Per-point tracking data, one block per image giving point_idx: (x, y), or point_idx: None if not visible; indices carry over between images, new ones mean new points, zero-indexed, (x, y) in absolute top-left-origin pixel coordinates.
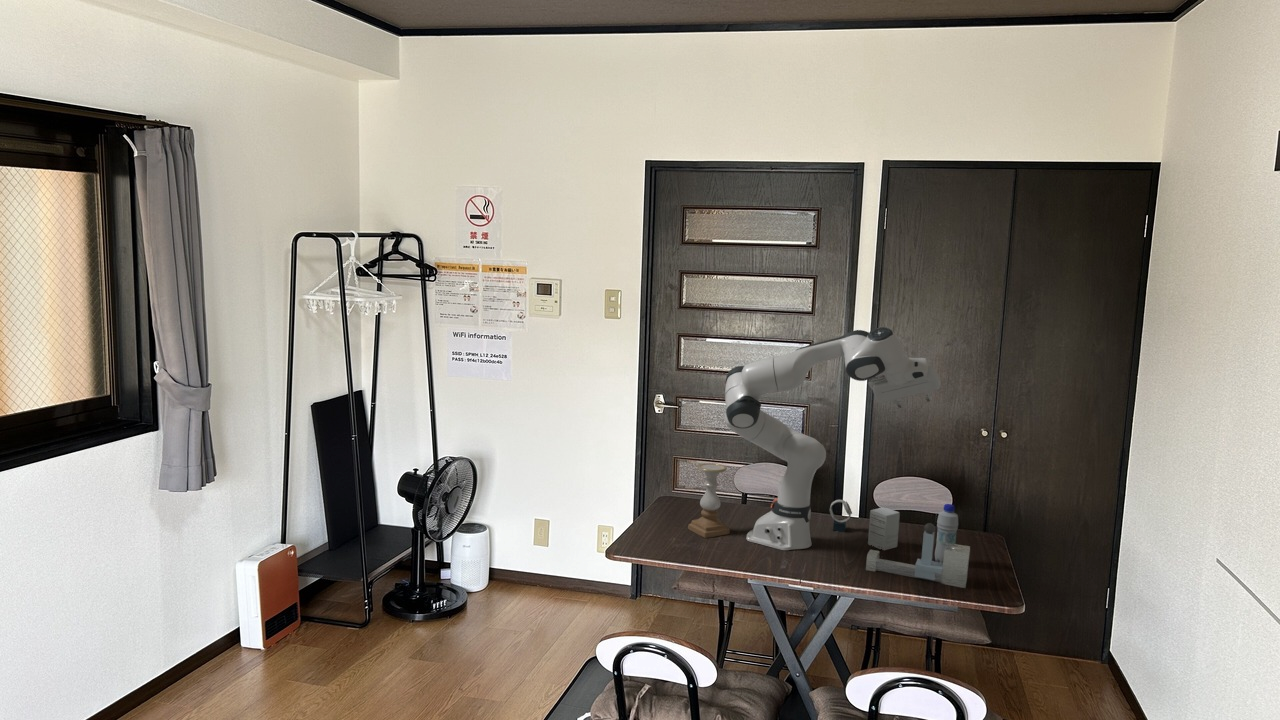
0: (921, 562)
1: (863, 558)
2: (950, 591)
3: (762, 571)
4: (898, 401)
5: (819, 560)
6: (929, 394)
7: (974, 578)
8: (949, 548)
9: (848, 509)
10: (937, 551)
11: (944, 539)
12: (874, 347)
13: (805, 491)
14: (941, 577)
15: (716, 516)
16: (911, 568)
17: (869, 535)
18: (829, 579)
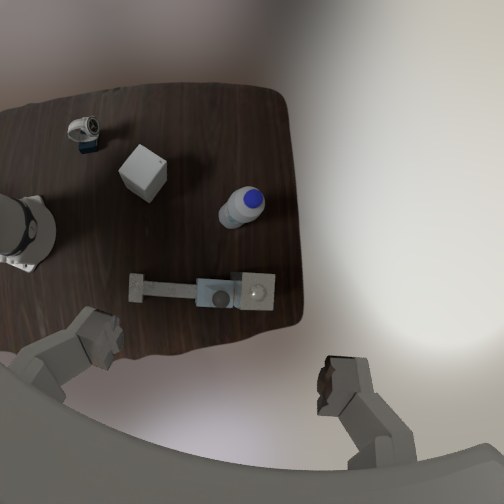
0: (204, 300)
1: (123, 251)
2: (239, 323)
3: None
4: (83, 341)
5: (72, 288)
6: (361, 448)
7: (266, 261)
8: (247, 299)
9: (91, 135)
10: (223, 222)
11: (236, 223)
12: None
13: (6, 241)
14: None
15: None
16: (190, 297)
17: (125, 184)
18: None
